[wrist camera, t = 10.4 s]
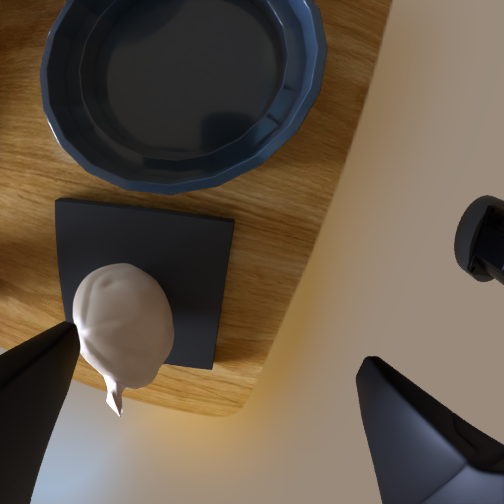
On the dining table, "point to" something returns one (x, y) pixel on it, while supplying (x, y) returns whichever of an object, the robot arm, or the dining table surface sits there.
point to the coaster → (152, 263)
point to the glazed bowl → (180, 86)
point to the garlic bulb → (123, 327)
